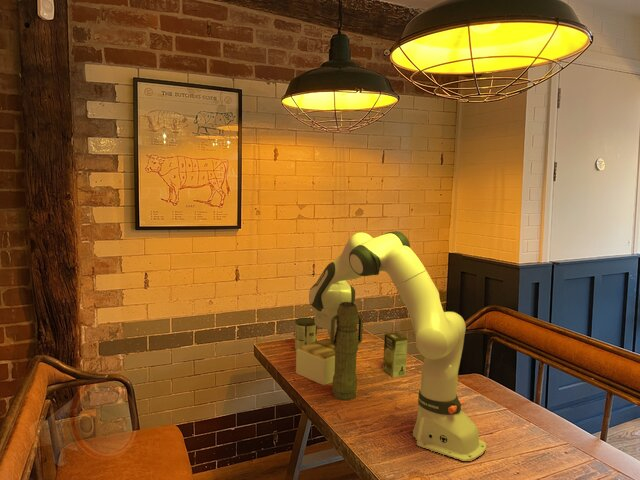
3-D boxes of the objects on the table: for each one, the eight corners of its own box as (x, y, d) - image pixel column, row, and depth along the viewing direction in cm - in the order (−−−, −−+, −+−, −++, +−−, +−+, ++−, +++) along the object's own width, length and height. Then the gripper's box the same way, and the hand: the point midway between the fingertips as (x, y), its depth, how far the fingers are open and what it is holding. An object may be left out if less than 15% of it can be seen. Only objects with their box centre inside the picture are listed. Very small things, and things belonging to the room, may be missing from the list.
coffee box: (382, 369, 208) (383, 333, 206) (395, 367, 210) (397, 331, 208) (393, 378, 199) (395, 340, 197) (406, 376, 202) (408, 338, 200)
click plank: (351, 349, 202) (351, 346, 202) (340, 353, 197) (340, 350, 197) (327, 341, 212) (327, 338, 211) (315, 344, 207) (315, 341, 206)
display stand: (353, 373, 203) (354, 349, 202) (323, 385, 190) (324, 360, 189) (326, 362, 214) (326, 340, 213) (295, 373, 201) (296, 349, 200)
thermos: (364, 397, 181) (368, 305, 176) (335, 402, 176) (338, 308, 172) (353, 388, 189) (356, 299, 184) (325, 392, 184) (328, 301, 180)
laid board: (338, 354, 196) (338, 350, 196) (325, 359, 191) (325, 355, 190) (314, 345, 206) (314, 341, 206) (300, 349, 200) (300, 346, 200)
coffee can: (302, 344, 236) (303, 316, 234) (320, 348, 230) (321, 319, 229) (290, 350, 227) (290, 321, 225) (308, 355, 222) (309, 325, 220)
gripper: (358, 313, 201) (357, 345, 203) (322, 303, 215) (321, 333, 217) (348, 316, 197) (346, 349, 198) (312, 305, 211) (311, 336, 213)
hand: (333, 340), depth 208 cm, fingers closed, pressing on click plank
